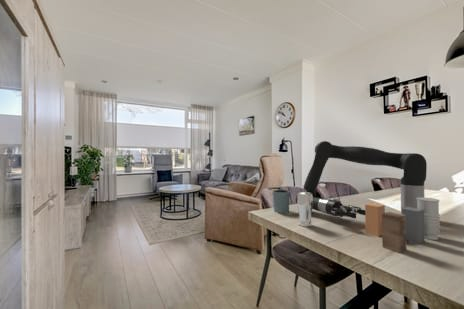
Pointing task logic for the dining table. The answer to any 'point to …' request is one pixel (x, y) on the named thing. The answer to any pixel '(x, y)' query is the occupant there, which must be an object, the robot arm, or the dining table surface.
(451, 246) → the dining table surface
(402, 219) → the walnut block
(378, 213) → the orange block
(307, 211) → the beer glass
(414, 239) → the grey block
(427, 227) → the grey ribbed canister
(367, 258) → the dining table surface
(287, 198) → the grey-green cup
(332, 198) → the game die
